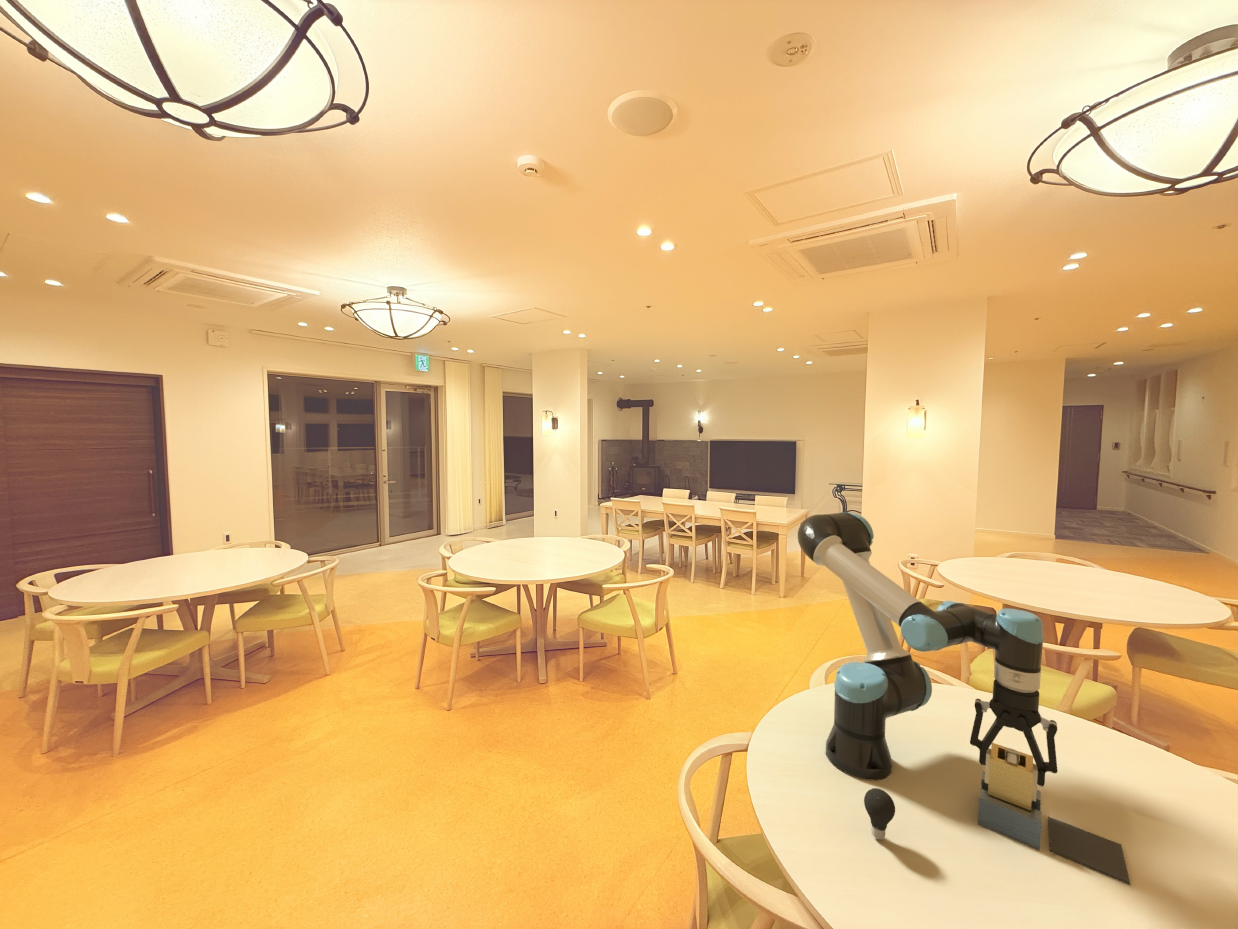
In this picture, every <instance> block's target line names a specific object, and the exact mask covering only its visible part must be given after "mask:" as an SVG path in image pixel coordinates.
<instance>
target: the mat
mask: <svg viewBox="0 0 1238 929" xmlns="http://www.w3.org/2000/svg"><path fill="white" fill-rule="evenodd" d="M1047 824H1048V839H1049V840H1048V843H1049V852H1050V853H1052V854H1054V855H1057V856H1059V857H1061V858H1064V859H1066V860H1068V861H1071V862H1073V863H1076V864H1078V865H1081V866H1082V867H1086V868H1088V869H1091V870H1092V871H1095V872H1097V873H1100V874H1102V875H1105V876H1106V877H1109V878H1111V879H1114V880H1116V881H1119V882H1122V884H1126V885H1128V886H1130V885H1131V881H1130V880H1131V879H1130V877H1129V876H1130V875H1129V872H1128V871H1129V870H1128V867H1127V863H1126V858H1125V855H1124V851H1123V846H1122V844H1121V843H1119V842H1115V841H1113V840H1111V839H1107V838H1106V837H1103V836H1101V835H1098V834H1095V833H1093V832H1091V831H1090V832H1089V831H1088V830H1086V829H1082V828H1080V827H1077V826H1074V825H1072V824H1069V823H1067V822H1064V821H1061V820H1059V819H1057V818H1053V817H1051V816H1047Z"/></svg>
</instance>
